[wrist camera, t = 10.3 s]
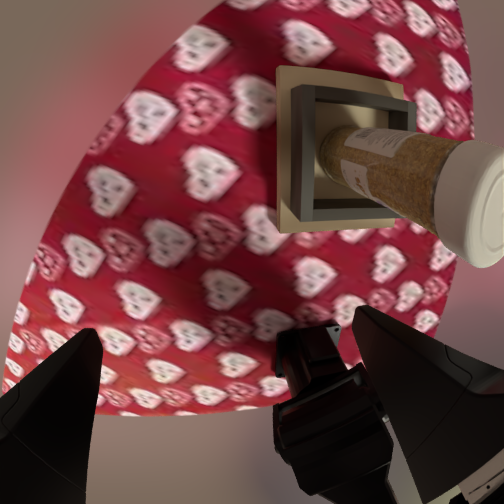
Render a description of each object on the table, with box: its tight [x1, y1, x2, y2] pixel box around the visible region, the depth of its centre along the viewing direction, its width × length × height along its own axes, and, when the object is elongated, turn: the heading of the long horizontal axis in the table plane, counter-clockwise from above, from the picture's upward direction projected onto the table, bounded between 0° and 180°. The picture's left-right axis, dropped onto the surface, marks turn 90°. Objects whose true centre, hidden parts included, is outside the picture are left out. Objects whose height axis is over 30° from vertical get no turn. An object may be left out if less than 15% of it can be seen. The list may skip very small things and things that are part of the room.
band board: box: [276, 65, 416, 234], centre depth 18 cm, size 12×10×4 cm
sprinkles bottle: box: [320, 125, 504, 268], centre depth 13 cm, size 5×5×14 cm
